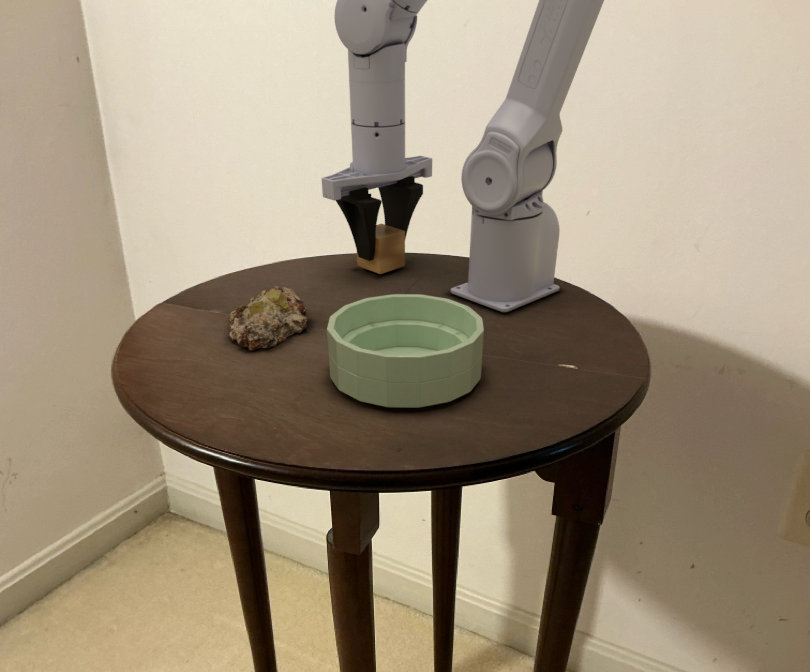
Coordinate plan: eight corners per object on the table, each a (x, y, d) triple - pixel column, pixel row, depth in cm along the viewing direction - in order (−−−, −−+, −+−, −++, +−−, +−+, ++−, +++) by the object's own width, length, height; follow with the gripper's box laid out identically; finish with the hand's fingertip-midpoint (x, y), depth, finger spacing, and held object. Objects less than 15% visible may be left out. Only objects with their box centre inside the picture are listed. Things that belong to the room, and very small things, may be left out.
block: (382, 257, 92) (381, 223, 90) (405, 266, 90) (405, 230, 87) (357, 265, 90) (355, 230, 87) (379, 274, 88) (379, 238, 85)
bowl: (407, 333, 76) (407, 283, 73) (510, 377, 68) (515, 323, 65) (301, 375, 69) (296, 321, 66) (402, 429, 61) (402, 372, 58)
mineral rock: (239, 284, 80) (308, 268, 77) (255, 323, 82) (323, 309, 80) (198, 328, 72) (274, 312, 69) (217, 370, 74) (291, 356, 72)
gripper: (402, 108, 87) (402, 232, 95) (299, 126, 79) (310, 259, 87) (447, 116, 83) (443, 245, 91) (343, 136, 75) (350, 275, 83)
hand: (381, 253), depth 89 cm, fingers closed on block, 4 cm apart
